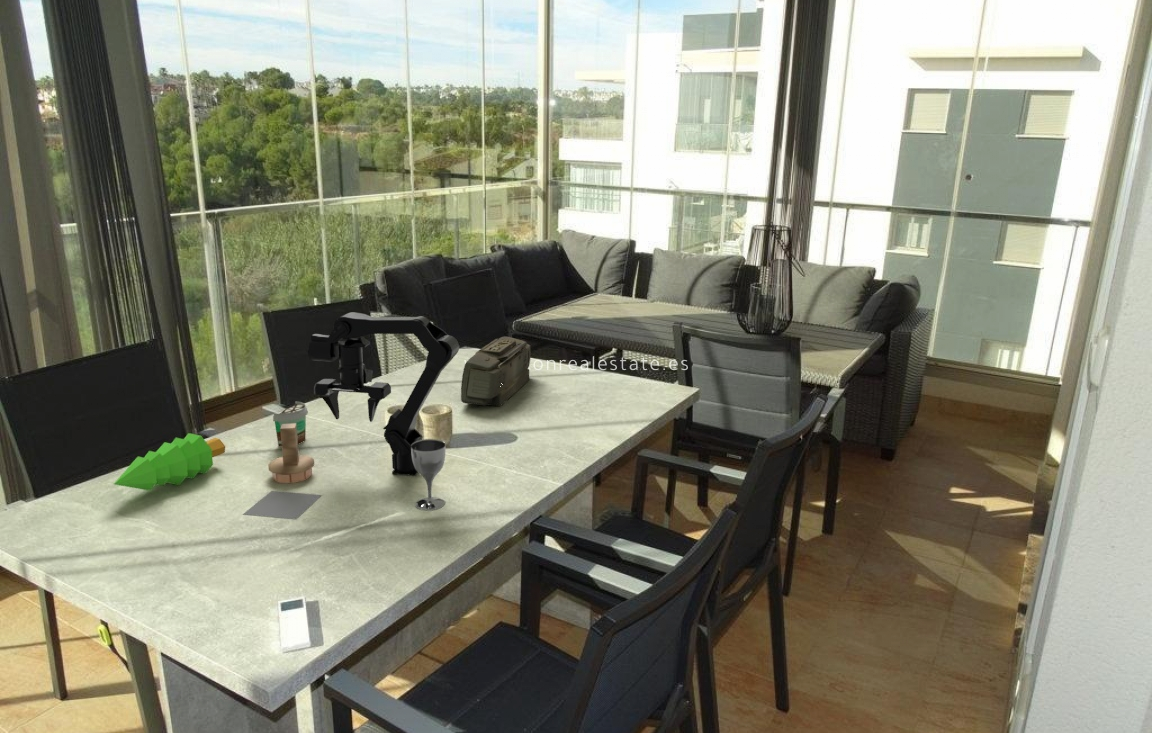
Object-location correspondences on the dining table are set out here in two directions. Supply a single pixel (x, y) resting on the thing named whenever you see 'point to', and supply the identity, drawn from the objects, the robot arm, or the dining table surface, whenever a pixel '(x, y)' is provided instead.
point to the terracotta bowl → (292, 477)
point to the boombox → (496, 372)
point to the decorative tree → (172, 462)
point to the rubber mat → (283, 505)
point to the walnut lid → (290, 454)
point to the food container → (292, 420)
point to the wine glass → (428, 468)
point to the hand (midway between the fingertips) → (354, 420)
